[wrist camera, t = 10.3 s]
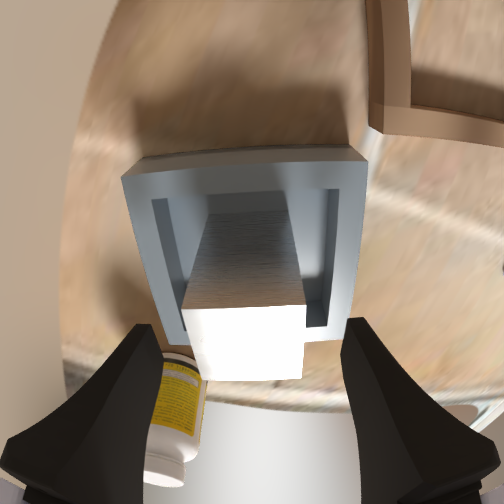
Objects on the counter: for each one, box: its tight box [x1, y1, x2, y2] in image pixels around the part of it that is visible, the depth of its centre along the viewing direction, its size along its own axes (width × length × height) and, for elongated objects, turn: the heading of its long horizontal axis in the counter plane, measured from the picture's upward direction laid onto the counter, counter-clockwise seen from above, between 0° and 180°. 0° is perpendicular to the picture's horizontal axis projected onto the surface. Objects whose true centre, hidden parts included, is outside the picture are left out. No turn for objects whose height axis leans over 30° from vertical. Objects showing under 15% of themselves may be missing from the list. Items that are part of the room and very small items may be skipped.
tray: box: [121, 144, 368, 345], centre depth 16 cm, size 10×10×3 cm
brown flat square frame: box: [365, 0, 504, 148], centre depth 10 cm, size 12×12×2 cm
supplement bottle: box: [143, 353, 208, 487], centre depth 20 cm, size 5×5×10 cm
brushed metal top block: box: [181, 210, 306, 380], centre depth 14 cm, size 4×4×7 cm
